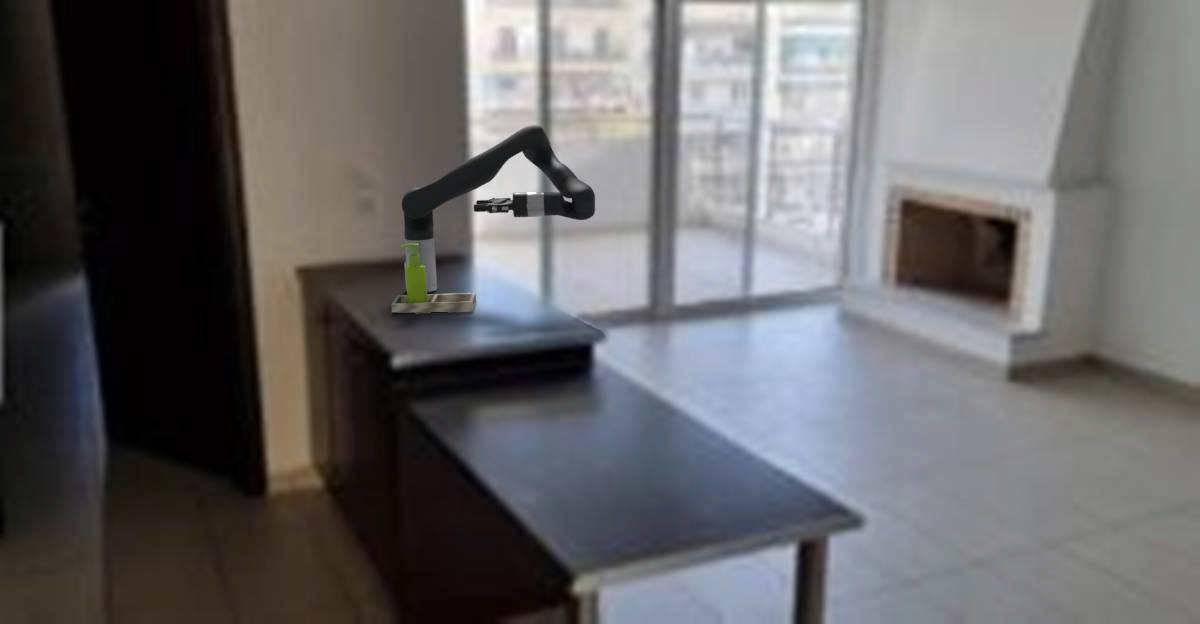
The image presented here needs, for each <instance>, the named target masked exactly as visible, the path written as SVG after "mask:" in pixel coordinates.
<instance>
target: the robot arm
mask: <svg viewBox="0 0 1200 624" xmlns="http://www.w3.org/2000/svg"><path fill="white" fill-rule="evenodd" d="M550 142H551V141H550V140H549V139H548V136H547V134H546V132H545V130H544V128H543V127H542V126H540V125H539V124H530V125H527V126H524V127H522V128H521V129H519V130H518V131H516V132H514V133H513V134H511V135H510V136H508V137H506V138H505V139H504V140H502V141H500V142H499V143H498V144H496V145H494V146H492V147H491V148H488V149H487V150H485V151H483V152H482V153H479V154H477V155H475V156H473V157H471V158H469V159H467V160H466V161H463V162H462V163H460V164H458V165H457V166H455V167H454V168H453V169H451V170H450V171H447V173H446V174H444V175H443V176H441V177H440V178H438V179H437V180H435V181H433V182H431V183H429V184H427V185H424V186H421V187H413V188H410V189H409V190H407V191H406V192H405V194H404V195H403V197H402V199H401V210H402V212H403V219H404V222H403V223H404V230H403V233H404V244H408V243H417V244H419V246H418V247H417V253H418V254H420V258H421V265H425V270H426V285H427V293H431V292H435V291H437V289H438V284H437V269H436V268H437V266H436V265H437V264H436V250H435V237H434V236H435V235H434V212H433V211H434V210H435V209H438V208H439V207H440V206H442V205H443V204H446V203H447V202H449V201H451V200H454V199H456V198H459V197H461V196H463V195H466V194H468V193H470V192H472V191H474V190H477V189H479V188H480V187H483V186H485V185H486V184H488V183H489V182H491V181H492V180H493V179H495V178H496V176H497V174H498V173H499V172H500V171H501V169H502V168H503V166H504V165H505V164H506V163H507V162H508V161H509V160H510V159H511V158H513V157H515V156H516V155H518V154H520V153H522V154H523V156H524V157H525V159H527V160H528V161H529V162H530V163H532V164H533V165H534V166H536V167H537V168H538V169H539V170H541V172H542V173H544V175H545V176H546V177H547V178H548V179H549V181H550V182H551V184H552V185H553V186H554V187H555V189H556V190H557V191H552V192H551V191H547V192H542V191H541V192H540V191H522V192H520V191H518V192H517V191H515V192H513V193H512V199H511V197H500V198H499V197H495V198H494V197H492V198H490V199H478V200H476V201H475V204H473V211H474V212H475V213H479V212H480V213H482V212H486V213H488V214H499V213H500V214H501V213H502V214H505V213H506V214H507V213H509V211H512V213H513V217H514V218H537V217H542V216H543V217H544V216H545V217H547V216H559V217H564V218H567V219H572V220H577V221H578V220H579V221H584V220H588V219H590V218H592V217H593V216H594V215H595V214H596V195H595V192H594V190H593V188H592V187H591V186H590V185H589V184H587V183H586V182H584V181H583V180H580V179H579V178H578V177H577V176H576V175H575V173H574V172H573V170H571V169H570V168H569V167H568V166H567V165H565V164H564V163H562V162H561V161H560V160H559V159H558V158H557V156H556V155H555V154H556V153H555V152H554V150H553V148H552V146H551V143H550ZM565 198H566V199H571V201H568V200H566V199H565ZM410 254H412V252H411V246H407V247H405V258H406V259H405V261H404V264H403V265H404V275H405V276H404V277H405V281H406V268H405V267H406V266H408V265H409V255H410ZM406 289H407V283H406V282H405V290H406Z"/></svg>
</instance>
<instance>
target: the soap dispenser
mask: <svg viewBox="0 0 1200 624" xmlns="http://www.w3.org/2000/svg"><path fill="white" fill-rule="evenodd" d="M407 246H411V252H412V254H410V255H409V265H408V266H406V267H405V266H404V269H405V268H406V280H405V284H406V283H407V290H406V295H407V297H408V303H428V301H427V294H428V292H427V285H426V270H425V265H421V258H420V254H418V253H417V247H418V246H419V244H417V243H408V244H405V243H404V244H401V245H400V246H399V247H400V248H406V247H407Z"/></svg>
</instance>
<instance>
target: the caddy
mask: <svg viewBox="0 0 1200 624" xmlns="http://www.w3.org/2000/svg"><path fill="white" fill-rule="evenodd" d="M427 301H428V303H408V297H407V294H403V295H402V294H401V295H400V294H399V295H398V294H397V295H396V297H395V299H394V300H393V302H392V303H391V307H390V309H391V313H392V312H415V313H416V312H422V313H421V314H432V313H431V312H448V313H472V312H474V310H475V307H476V304H477V294H476V292H472V293H471V292H463V293H433V294H432V293H431V294H430V293H429V294H428V293H427ZM416 314H417V313H416Z"/></svg>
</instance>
